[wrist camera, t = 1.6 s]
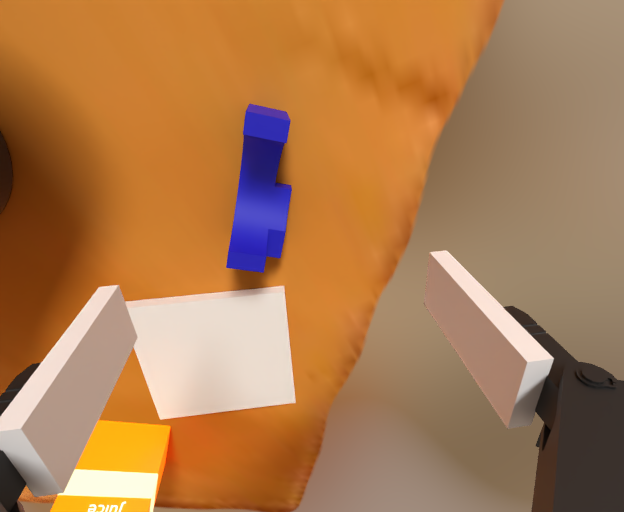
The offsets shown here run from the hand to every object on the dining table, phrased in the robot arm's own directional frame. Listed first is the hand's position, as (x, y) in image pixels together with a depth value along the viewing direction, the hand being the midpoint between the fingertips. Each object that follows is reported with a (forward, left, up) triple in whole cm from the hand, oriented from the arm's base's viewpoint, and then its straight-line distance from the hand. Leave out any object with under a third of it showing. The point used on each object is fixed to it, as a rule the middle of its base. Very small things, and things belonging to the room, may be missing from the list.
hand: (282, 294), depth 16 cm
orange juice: (-21, -32, -19) cm, 43 cm away
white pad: (-8, -19, -18) cm, 28 cm away
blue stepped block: (-1, 0, -19) cm, 19 cm away
